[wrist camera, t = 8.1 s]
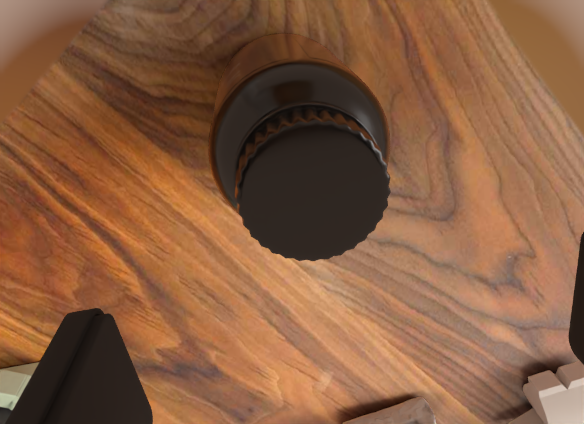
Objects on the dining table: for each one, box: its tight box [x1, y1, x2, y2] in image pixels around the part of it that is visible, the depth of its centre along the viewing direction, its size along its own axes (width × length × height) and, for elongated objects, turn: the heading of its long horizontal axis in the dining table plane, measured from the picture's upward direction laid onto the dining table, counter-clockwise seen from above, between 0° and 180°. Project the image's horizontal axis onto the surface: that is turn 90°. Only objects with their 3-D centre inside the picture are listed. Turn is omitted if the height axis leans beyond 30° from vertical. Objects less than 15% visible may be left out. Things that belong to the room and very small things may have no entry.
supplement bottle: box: [209, 33, 390, 261], centre depth 20 cm, size 7×7×12 cm
